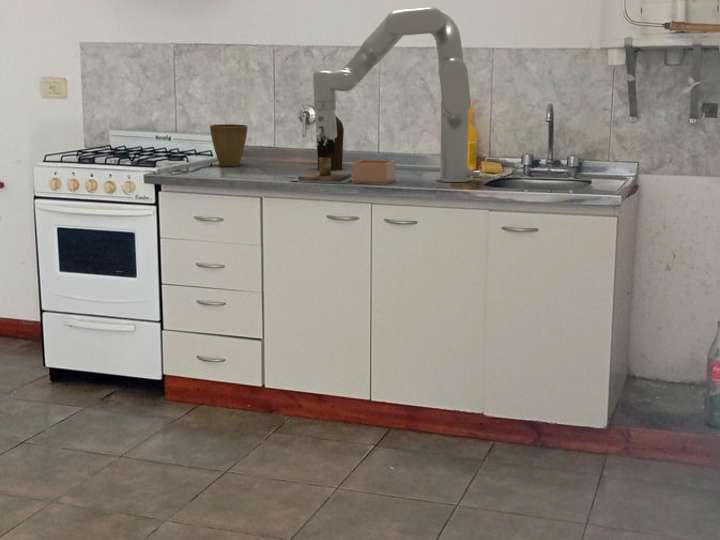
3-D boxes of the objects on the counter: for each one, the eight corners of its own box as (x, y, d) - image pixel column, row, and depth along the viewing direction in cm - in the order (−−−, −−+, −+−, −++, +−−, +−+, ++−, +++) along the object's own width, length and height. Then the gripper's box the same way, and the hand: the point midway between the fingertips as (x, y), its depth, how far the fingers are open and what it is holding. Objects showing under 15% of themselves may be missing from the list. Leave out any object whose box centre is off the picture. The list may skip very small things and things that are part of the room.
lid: (351, 177, 376) (351, 156, 374) (339, 181, 362) (339, 160, 360) (311, 175, 380) (311, 155, 378) (298, 180, 366) (297, 159, 364)
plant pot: (204, 167, 414) (203, 126, 411) (219, 163, 428) (218, 123, 425) (240, 168, 410) (239, 126, 407) (254, 164, 424) (253, 124, 421)
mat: (358, 178, 376) (358, 177, 376) (345, 183, 361) (345, 182, 360) (305, 176, 381) (305, 175, 381) (290, 181, 366) (290, 180, 366)
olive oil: (343, 170, 401) (343, 104, 396) (316, 170, 401) (315, 104, 396) (343, 167, 412) (343, 103, 407) (316, 167, 412) (316, 103, 407)
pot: (394, 180, 370) (395, 160, 368) (386, 184, 358) (386, 163, 357) (362, 179, 373) (362, 159, 371) (352, 183, 361) (352, 162, 360)
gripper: (327, 107, 356) (329, 158, 360) (342, 105, 373) (343, 153, 376) (306, 107, 358) (308, 158, 362) (322, 105, 375) (323, 153, 378)
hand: (326, 155), depth 369 cm, fingers open, 9 cm apart
